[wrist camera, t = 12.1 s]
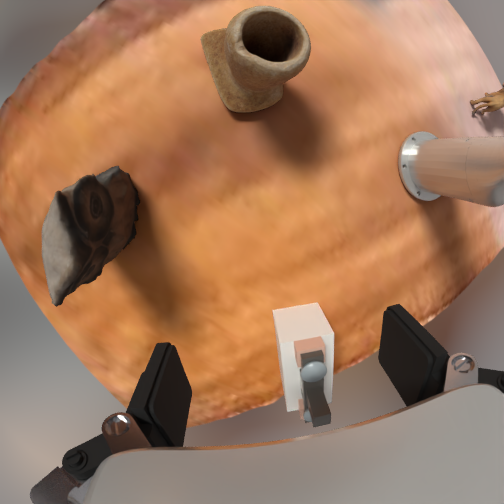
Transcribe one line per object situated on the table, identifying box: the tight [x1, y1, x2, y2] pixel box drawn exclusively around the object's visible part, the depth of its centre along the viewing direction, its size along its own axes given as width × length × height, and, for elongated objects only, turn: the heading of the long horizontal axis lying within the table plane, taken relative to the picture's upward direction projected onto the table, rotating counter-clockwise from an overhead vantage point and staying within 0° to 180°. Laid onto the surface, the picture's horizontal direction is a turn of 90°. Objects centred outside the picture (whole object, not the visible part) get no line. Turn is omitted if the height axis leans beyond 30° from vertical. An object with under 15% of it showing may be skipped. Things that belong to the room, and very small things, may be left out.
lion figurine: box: [470, 83, 504, 115], centre depth 31 cm, size 15×5×9 cm, turn 130°
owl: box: [42, 166, 140, 306], centre depth 31 cm, size 13×13×20 cm
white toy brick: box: [273, 302, 334, 420], centre depth 43 cm, size 8×16×12 cm, turn 8°
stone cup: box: [201, 6, 311, 112], centre depth 28 cm, size 15×12×15 cm
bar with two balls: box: [300, 350, 331, 427], centre depth 35 cm, size 4×15×9 cm, turn 9°
